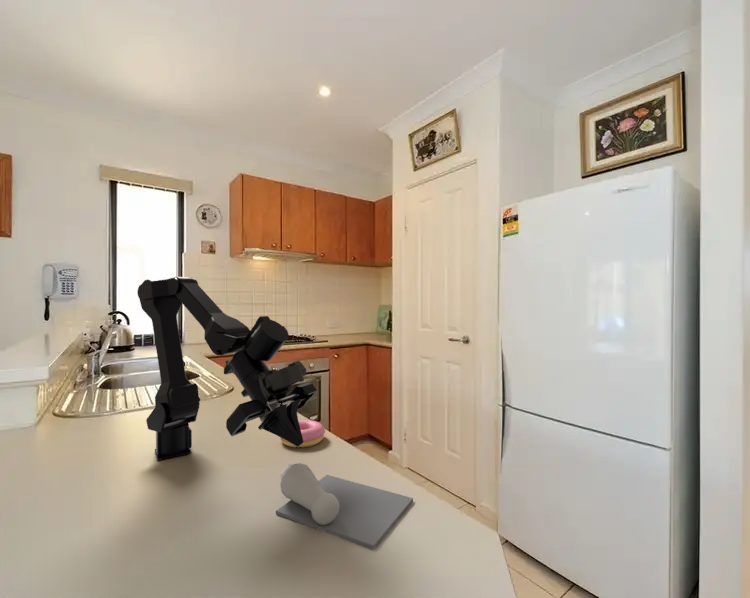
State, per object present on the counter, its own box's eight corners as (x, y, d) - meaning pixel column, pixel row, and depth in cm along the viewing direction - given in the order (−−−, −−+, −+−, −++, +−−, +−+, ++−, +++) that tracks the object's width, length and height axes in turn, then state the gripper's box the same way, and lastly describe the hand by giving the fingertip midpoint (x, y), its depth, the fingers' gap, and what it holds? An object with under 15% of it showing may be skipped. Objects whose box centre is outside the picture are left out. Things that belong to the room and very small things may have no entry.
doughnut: (309, 430, 100) (309, 414, 100) (334, 441, 92) (334, 424, 92) (271, 440, 92) (271, 423, 92) (294, 454, 84) (294, 435, 84)
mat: (275, 513, 61) (275, 510, 61) (326, 477, 73) (326, 474, 73) (373, 549, 52) (373, 545, 52) (412, 501, 64) (412, 498, 64)
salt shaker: (274, 495, 65) (311, 539, 55) (275, 463, 64) (313, 501, 54) (304, 485, 68) (345, 524, 58) (306, 455, 68) (347, 488, 58)
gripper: (237, 355, 61) (290, 434, 56) (309, 343, 78) (355, 403, 73) (205, 398, 65) (252, 475, 60) (280, 377, 82) (322, 437, 76)
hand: (300, 444), depth 67 cm, fingers closed
